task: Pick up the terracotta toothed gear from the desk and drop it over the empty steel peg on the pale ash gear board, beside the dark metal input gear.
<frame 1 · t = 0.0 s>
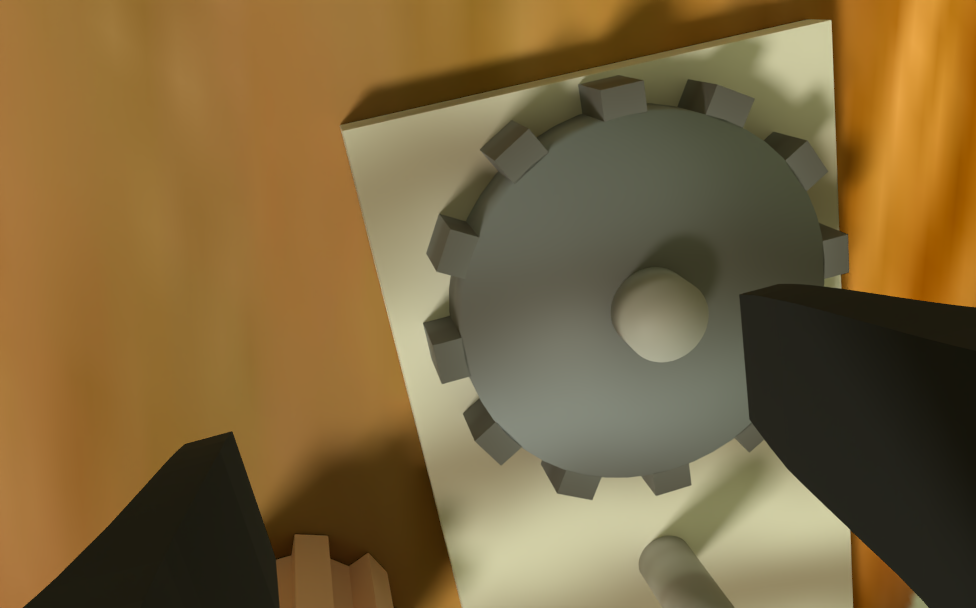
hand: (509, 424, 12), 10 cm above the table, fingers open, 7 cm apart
gear board: (634, 425, 24), on the table
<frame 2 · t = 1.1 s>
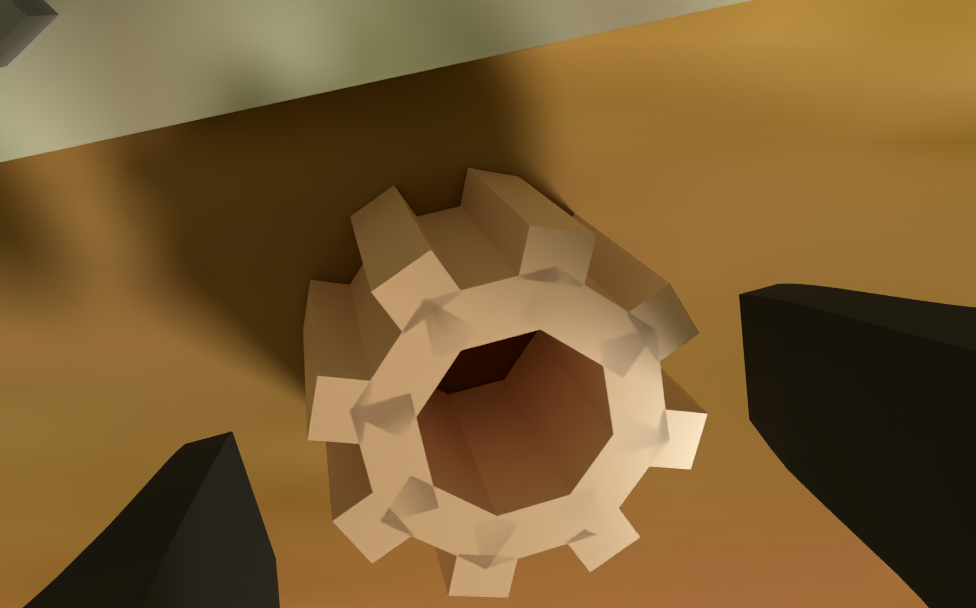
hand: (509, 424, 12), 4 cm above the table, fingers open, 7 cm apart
loose gear: (462, 323, 15), on the table
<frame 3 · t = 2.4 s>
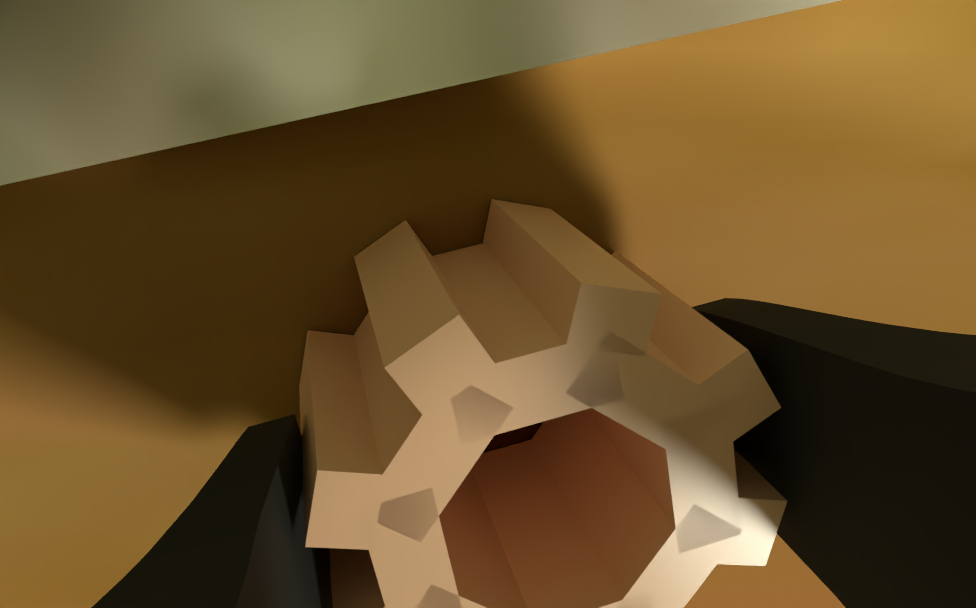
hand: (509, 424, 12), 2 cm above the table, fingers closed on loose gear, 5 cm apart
loose gear: (484, 377, 13), on the table, touching gripper
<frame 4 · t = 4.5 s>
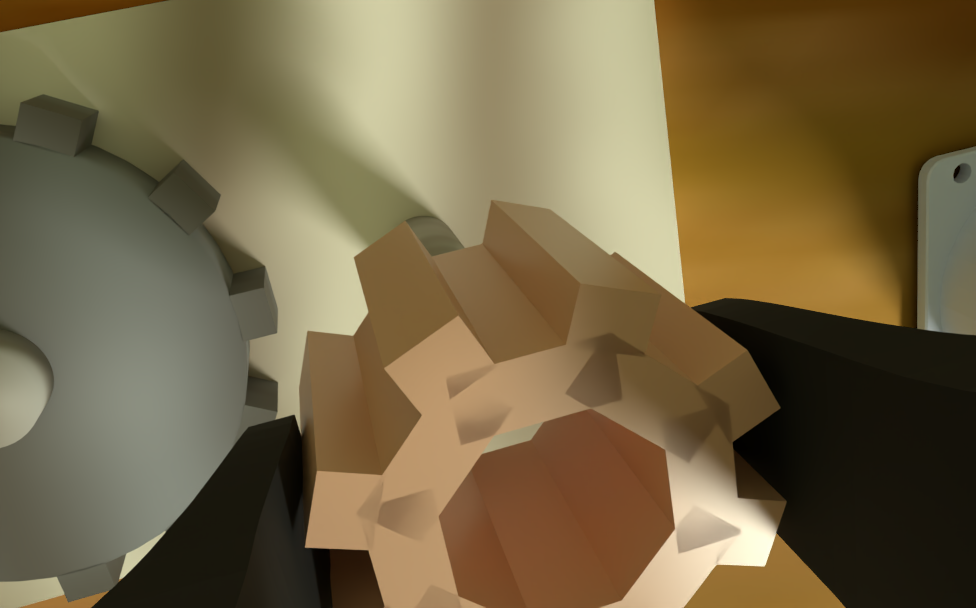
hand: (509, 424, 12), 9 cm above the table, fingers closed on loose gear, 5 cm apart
gear board: (243, 281, 19), on the table
loose gear: (483, 377, 13), point 7 cm above the table, touching gripper
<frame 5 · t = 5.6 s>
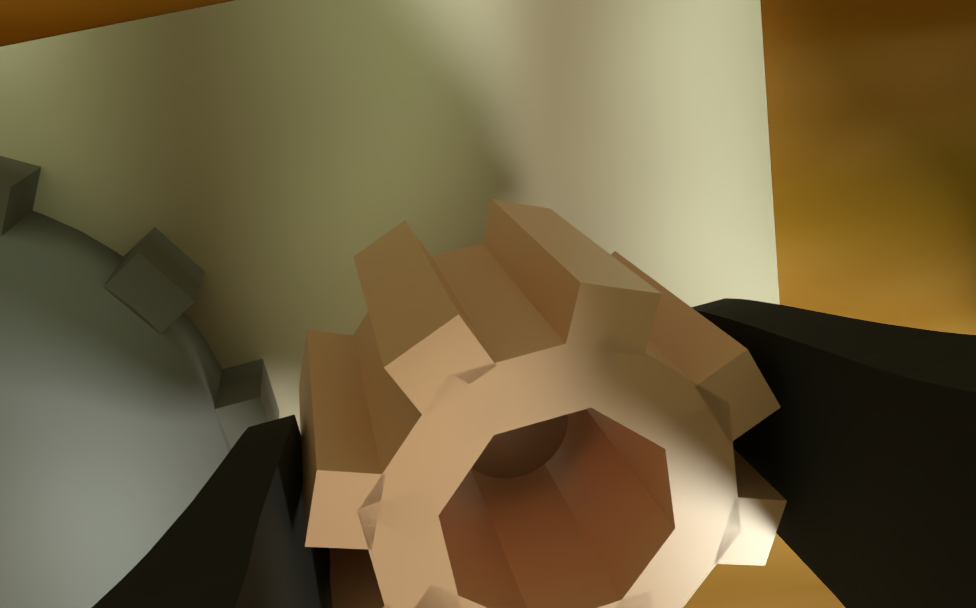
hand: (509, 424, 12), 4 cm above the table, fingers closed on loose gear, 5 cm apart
gear board: (235, 371, 15), on the table
loose gear: (483, 376, 13), point 3 cm above the table, touching gripper
when the fingers open (4 cm above the table, at t = 6.6 s): loose gear drops 2 cm, resting on gear board.
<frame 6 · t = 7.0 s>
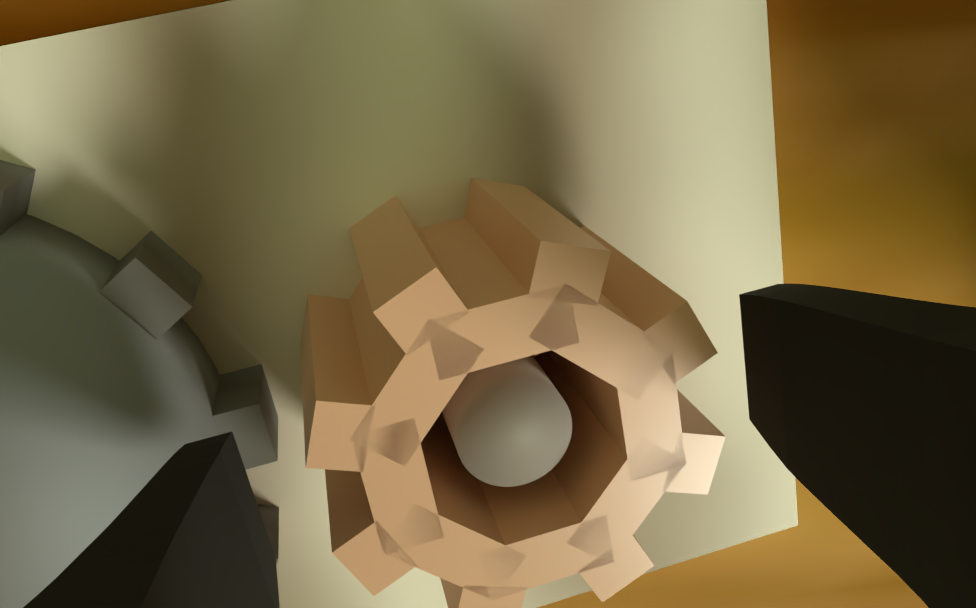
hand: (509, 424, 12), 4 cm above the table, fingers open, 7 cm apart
gear board: (234, 376, 15), on the table
loose gear: (466, 338, 15), point 1 cm above the table, touching gear board
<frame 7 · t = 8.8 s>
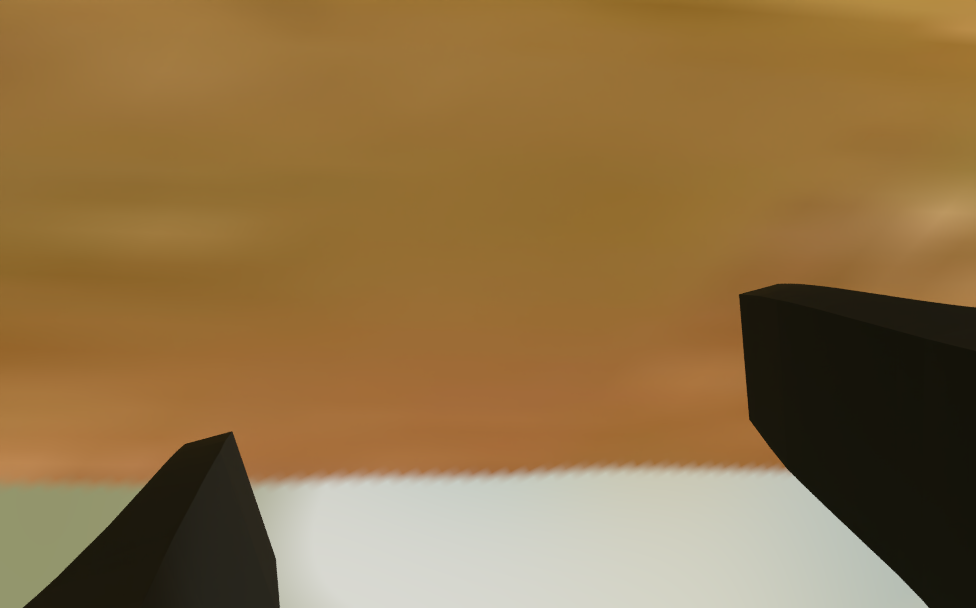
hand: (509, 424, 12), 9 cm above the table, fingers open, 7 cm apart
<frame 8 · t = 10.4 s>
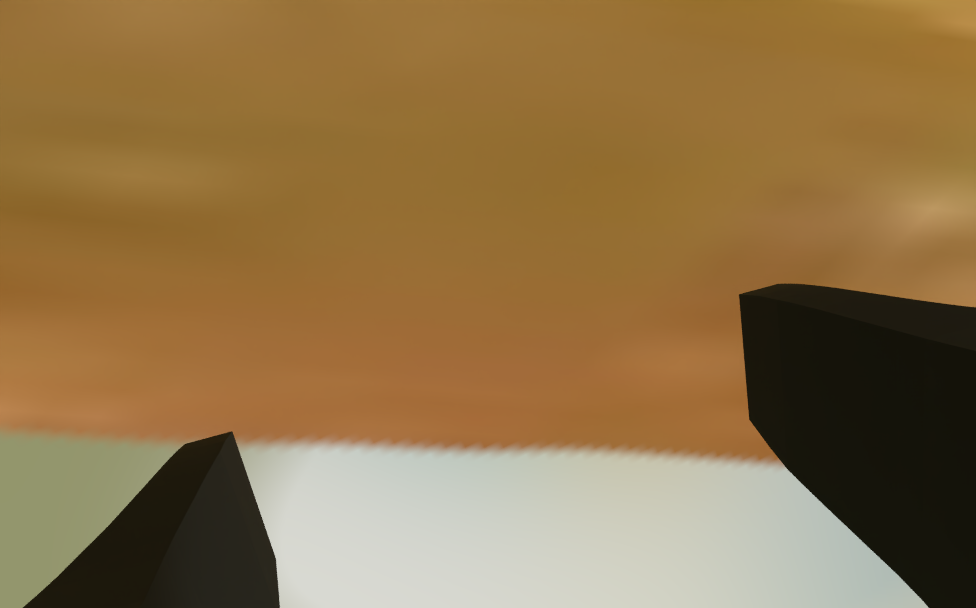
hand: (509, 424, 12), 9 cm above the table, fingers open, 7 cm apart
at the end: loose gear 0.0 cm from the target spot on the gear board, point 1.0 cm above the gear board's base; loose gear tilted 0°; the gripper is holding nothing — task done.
